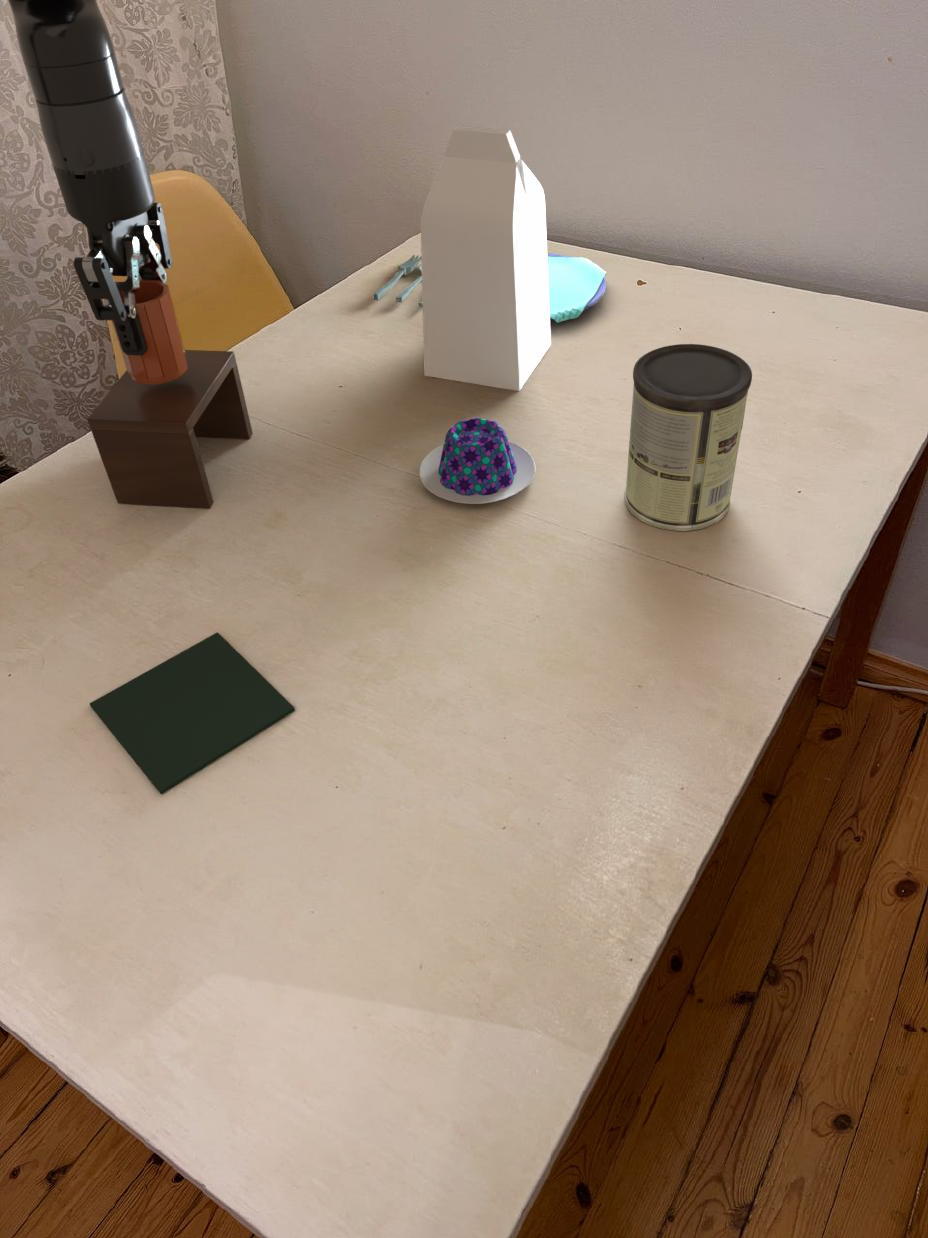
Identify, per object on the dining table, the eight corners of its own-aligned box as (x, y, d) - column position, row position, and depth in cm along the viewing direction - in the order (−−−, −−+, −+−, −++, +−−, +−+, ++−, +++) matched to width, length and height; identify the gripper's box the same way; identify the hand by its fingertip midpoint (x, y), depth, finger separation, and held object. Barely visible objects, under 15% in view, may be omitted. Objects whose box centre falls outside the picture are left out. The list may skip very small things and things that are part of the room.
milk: (424, 375, 115) (405, 143, 97) (461, 331, 123) (449, 108, 105) (519, 391, 111) (517, 152, 94) (551, 344, 119) (554, 116, 101)
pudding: (434, 438, 105) (430, 396, 101) (543, 447, 103) (544, 403, 99) (407, 504, 96) (402, 460, 93) (525, 515, 94) (525, 470, 91)
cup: (146, 391, 92) (122, 311, 87) (119, 370, 96) (95, 292, 90) (198, 369, 95) (179, 291, 89) (170, 350, 98) (150, 273, 93)
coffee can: (641, 461, 100) (652, 335, 90) (740, 482, 97) (764, 353, 87) (608, 518, 93) (618, 388, 84) (714, 542, 90) (736, 410, 80)
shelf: (210, 509, 97) (185, 423, 91) (117, 503, 99) (86, 419, 92) (252, 433, 107) (234, 351, 101) (168, 429, 109) (144, 347, 102)
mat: (161, 795, 72) (159, 791, 71) (90, 706, 78) (89, 703, 78) (295, 710, 77) (294, 707, 77) (218, 635, 84) (217, 631, 84)
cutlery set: (582, 341, 119) (583, 324, 118) (363, 311, 128) (361, 294, 126) (622, 274, 132) (623, 258, 131) (422, 251, 141) (420, 235, 140)
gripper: (91, 124, 87) (142, 302, 98) (14, 181, 77) (80, 372, 88) (170, 125, 86) (212, 304, 97) (102, 182, 76) (157, 376, 87)
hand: (149, 336), depth 93 cm, fingers closed on cup, 6 cm apart
